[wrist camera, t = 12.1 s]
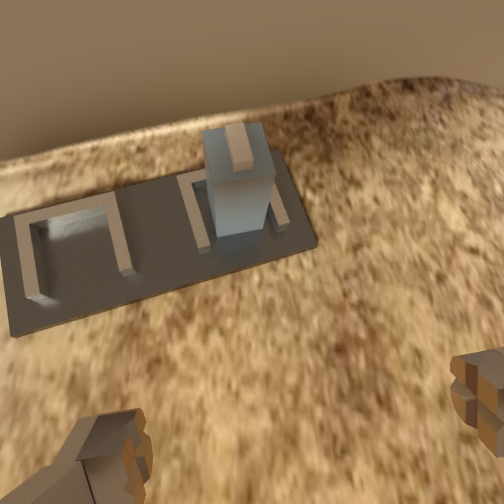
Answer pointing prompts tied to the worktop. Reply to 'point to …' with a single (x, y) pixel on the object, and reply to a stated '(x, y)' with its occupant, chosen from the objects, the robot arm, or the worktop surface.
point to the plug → (238, 176)
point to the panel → (134, 247)
